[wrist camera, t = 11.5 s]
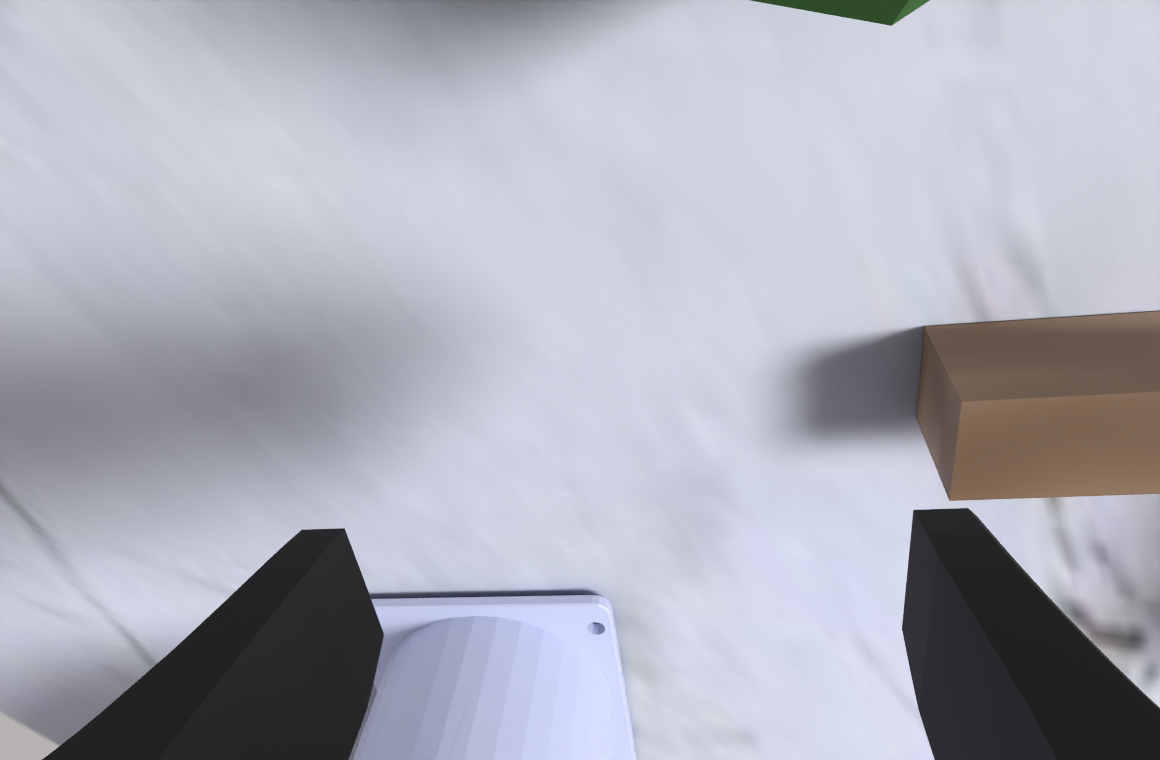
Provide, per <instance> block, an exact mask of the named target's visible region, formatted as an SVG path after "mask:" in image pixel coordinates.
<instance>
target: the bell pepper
mask: <svg viewBox="0 0 1160 760" xmlns="http://www.w3.org/2000/svg"><path fill="white" fill-rule="evenodd" d="M751 1H757V2H763V3H768V4H774V5H779V6H785V7H791V8H796V9H802V10H807V11H813V12H818V13H824V14H830V15H835V16H841V17H846V18H852V19H858V20H863V21H869V22H874V23H880V24H886V25H893V24H894V23H896V22H898V21H899V20H901V19H902V18H904V17H905V16H907V15H908V14H910V13H911V12H913V11H914V10H916V9H917V8H919V7H920V6H922V5H923V4H925V3H926V2H928V1H929V0H751Z"/></svg>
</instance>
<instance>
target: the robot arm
mask: <svg viewBox="0 0 1160 760" xmlns="http://www.w3.org/2000/svg"><path fill="white" fill-rule="evenodd" d="M593 622H597V623H601V624H594V623H593ZM902 630H903V635H904V640H905V646H906V651H907V656H908V661H909V666H910V671H911V676H912V680H913V685H914V690H915V694H916V699H917V704H918V708H919V712H920V715H921V718H922V721H923V725H924V728H925V731H926V734H927V737H928V740H929V743H930V746H931V749H932V753H933V756H934V759H935V760H1160V708H1159V707H1158V706H1157V705H1156V704H1155V703H1154V702H1153V701H1152V700H1151V699H1149V698H1148V697H1147V696H1146V695H1145V694H1144V693H1143V692H1142V691H1141V690H1140V689H1139V688H1138V687H1137V686H1136V685H1135V684H1134V683H1133V682H1132V681H1131V680H1130V679H1128V678H1127V677H1126V676H1125V675H1124V674H1123V673H1122V672H1121V671H1120V670H1119V669H1118V668H1117V667H1116V666H1115V665H1114V664H1113V663H1112V662H1111V661H1110V660H1109V659H1108V658H1107V657H1106V656H1105V655H1104V654H1103V653H1102V652H1101V651H1100V650H1099V649H1098V648H1097V647H1096V646H1095V645H1094V644H1093V643H1092V642H1091V641H1090V640H1089V639H1088V638H1087V637H1086V636H1085V635H1084V633H1083V632H1082V631H1081V630H1080V629H1079V628H1078V627H1077V626H1076V625H1075V624H1074V623H1073V622H1072V621H1071V620H1070V619H1069V618H1068V617H1067V616H1066V615H1065V614H1064V613H1063V612H1062V611H1061V610H1060V609H1059V608H1058V607H1057V606H1056V604H1055V603H1054V602H1053V601H1052V600H1051V599H1050V598H1049V597H1048V596H1047V595H1046V594H1045V593H1044V592H1043V590H1042V589H1041V588H1040V587H1039V586H1038V585H1037V584H1036V583H1035V582H1034V581H1033V580H1032V578H1031V577H1030V576H1029V575H1028V574H1027V573H1026V572H1025V571H1024V570H1023V569H1022V567H1021V566H1020V565H1019V564H1018V563H1017V562H1016V561H1015V560H1014V558H1013V557H1012V556H1011V555H1010V554H1009V553H1008V552H1007V550H1006V549H1005V548H1004V547H1003V546H1002V545H1001V544H1000V542H999V541H998V540H997V539H996V538H995V537H994V536H993V534H992V533H991V532H990V531H989V530H988V529H987V527H986V526H985V525H984V524H983V523H982V522H981V520H980V519H979V518H978V517H977V516H976V515H975V514H974V513H973V512H972V511H970V510H969V509H968V508H961V509H931V510H914V511H913V521H912V532H911V542H910V552H909V563H908V573H907V583H906V594H905V604H904V614H903V625H902ZM373 683H374V686H375V688H376V691H377V694H376V696H375V699H374V702H373V705H372V707H371V710H370V713H369V716H368V719H367V721H366V724H365V727H364V730H363V733H362V735H361V738H360V741H359V744H358V747H357V749H356V752H355V755H354V758H353V760H637V757H636V751H635V745H634V738H633V732H632V726H631V720H630V714H629V708H628V702H627V696H626V690H625V683H624V677H623V671H622V665H621V659H620V653H619V647H618V641H617V635H616V628H615V622H614V616H613V610H612V606H611V604H610V602H609V601H608V600H607V599H606V598H603V597H601V596H598V595H563V596H508V597H453V598H398V599H371V598H370V595H369V592H368V590H367V587H366V584H365V582H364V579H363V576H362V574H361V571H360V568H359V566H358V563H357V560H356V558H355V555H354V552H353V550H352V547H351V545H350V542H349V539H348V537H347V534H346V531H345V529H314V530H301V531H300V532H299V533H298V534H297V535H295V536H294V537H293V538H292V539H291V540H290V541H289V542H287V543H286V544H285V545H284V546H283V547H282V548H281V549H280V550H279V551H278V552H277V553H276V554H274V555H273V556H272V557H271V558H270V559H269V560H268V561H267V562H266V563H265V564H264V565H263V566H262V567H261V568H260V569H259V570H258V571H256V572H255V573H254V574H253V575H252V576H251V577H250V578H249V579H248V580H247V581H246V582H245V583H244V584H243V585H242V586H241V587H240V588H239V589H238V590H237V591H236V592H234V593H233V594H232V595H231V596H230V597H229V598H228V599H227V600H226V601H225V602H224V603H223V604H222V605H221V606H220V607H219V608H218V609H216V610H215V611H214V612H213V613H212V614H211V615H210V616H209V617H208V618H207V619H206V620H205V621H204V622H203V623H201V624H200V625H199V626H198V627H197V628H196V629H195V630H194V631H193V632H192V633H191V634H190V635H189V636H188V637H187V638H185V639H184V640H183V641H182V642H181V643H180V644H179V645H178V646H177V647H176V648H175V649H174V650H173V651H171V652H170V653H169V654H168V655H167V656H166V657H165V658H163V659H162V660H161V661H160V662H159V663H158V664H157V665H155V666H154V667H153V668H152V669H151V670H150V671H149V672H147V673H146V674H145V675H144V676H143V677H142V678H140V679H139V680H138V681H137V682H136V683H135V684H134V685H132V686H131V687H130V688H129V689H128V690H127V691H126V692H124V693H123V694H122V695H121V696H120V697H119V698H117V699H116V700H115V701H114V702H113V703H112V704H111V705H109V706H108V707H107V708H106V709H105V710H104V711H103V712H101V713H100V714H99V715H98V716H97V717H95V718H94V719H93V720H92V721H91V722H89V723H88V724H87V725H86V726H84V727H83V728H82V729H81V730H80V731H78V732H77V733H76V734H75V735H73V736H72V737H71V738H70V739H68V740H67V741H66V742H64V743H63V744H62V745H61V746H59V747H58V748H57V749H56V750H54V751H53V752H52V753H50V754H49V755H48V756H46V757H45V758H44V759H42V760H348V759H349V756H350V754H351V751H352V748H353V746H354V743H355V740H356V737H357V735H358V732H359V729H360V726H361V724H362V721H363V718H364V715H365V712H366V709H367V706H368V702H369V698H370V694H371V690H372V686H373Z"/></svg>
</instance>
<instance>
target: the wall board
mask: <svg viewBox="0 0 1160 760" xmlns="http://www.w3.org/2000/svg"><path fill="white" fill-rule="evenodd" d="M916 419H917V421H918V424H919V426H920V429H921V431H922V434H923V436H924V438H925V441H926V443H927V446H928V448H929V451H930V453H931V456H932V458H933V461H934V463H935V466H936V468H937V471H938V473H939V476H940V478H941V481H942V483H943V486H944V488H945V491H946V493H947V496H948V498H949V501H956V500H985V499H1015V498H1045V497H1074V496H1104V495H1133V494H1160V311H1154V312H1139V313H1124V314H1108V315H1093V316H1078V317H1062V318H1047V319H1032V320H1016V321H1001V322H986V323H970V324H955V325H940V326H925V329H924V339H923V350H922V361H921V372H920V383H919V394H918V405H917V416H916Z"/></svg>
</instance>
